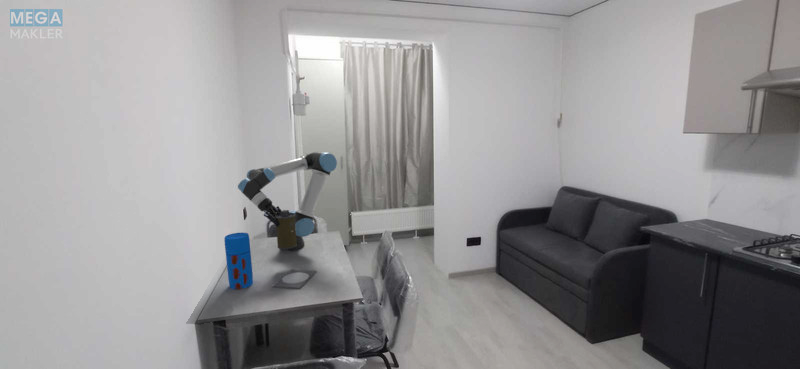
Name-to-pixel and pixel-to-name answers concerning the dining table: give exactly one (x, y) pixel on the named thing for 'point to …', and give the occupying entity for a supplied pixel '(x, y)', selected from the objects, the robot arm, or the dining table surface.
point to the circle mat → (295, 279)
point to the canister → (286, 230)
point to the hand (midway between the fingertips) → (292, 231)
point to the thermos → (238, 260)
